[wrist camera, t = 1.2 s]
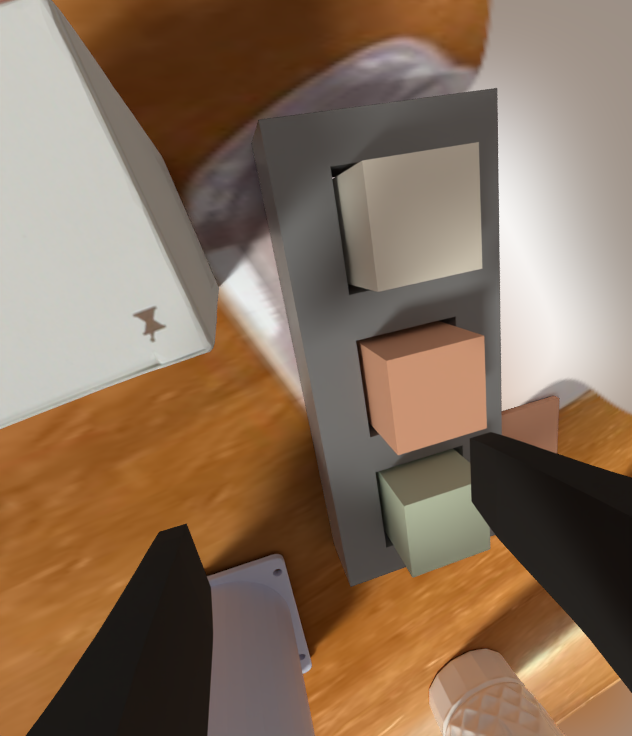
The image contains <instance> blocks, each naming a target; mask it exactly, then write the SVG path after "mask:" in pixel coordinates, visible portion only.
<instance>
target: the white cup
mask: <svg viewBox="0 0 632 736" xmlns="http://www.w3.org/2000/svg"><path fill="white" fill-rule="evenodd" d="M429 705H430V707H431V710H432V712H433V714H434V717H435V719H436V721H437V724H438V726H439V728H440V731H441V733H442V735H443V736H566V735H565V734H564V733H563V732H562V731H561V730H560V728H559V727H558V726H557V725H556V724H555V722H554V721H553V719H552V718H551V716H550V715H549V714H548V712H547V711H546V710H545V709H544V707H543V706H542V705H541V704H540V703H539V702H538V700H537V699H536V698H535V696H534V695H533V693H532V692H530V691H529V690H528V689H527V688H526V687H525V685H524V684H523V683H522V682H521V681H520V679H519V678H518V677H517V675H516V674H515V673H514V671H513V670H512V669H511V667H510V666H509V665H508V663H507V662H506V660H505V659H504V658H503V656H502V655H501V654H500V653H499V652H496V651H493V650H489V649H479V650H474V651H469V652H467V653H465V654H463V655H460V656H459V657H457V658H455V659H453V660H452V661H450V662H449V663H448V664H447V665H446V666H445V667H444V668H443V669H442V670H441V671H440V672H439V673H438V674H437V675H436V677H435V679H434V681H433V683H432V685H431V687H430V689H429Z"/></svg>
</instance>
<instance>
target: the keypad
mask: <svg viewBox="0 0 632 736" xmlns="http://www.w3.org/2000/svg"><path fill="white" fill-rule="evenodd" d="M497 116H498V113H497V88H494V89H487V90H480V91H472V92H464V93H457V94H449V95H442V96H434V97H427V98H419V99H412V100H404V101H397V102H389V103H382V104H374V105H367V106H359V107H352V108H344V109H337V110H329V111H321V112H314V113H306V114H299V115H291V116H284V117H276V118H269V119H261V120H258V124H257V127H256V130H255V133H254V137H253V140H252V143H251V144H252V149H253V154H254V158H255V163H256V168H257V173H258V178H259V183H260V188H261V192H262V197H263V202H264V207H265V212H266V217H267V221H268V226H269V231H270V236H271V241H272V246H273V251H274V255H275V260H276V265H277V270H278V275H279V280H280V285H281V289H282V294H283V299H284V304H285V309H286V314H287V318H288V323H289V328H290V333H291V338H292V343H293V348H294V352H295V357H296V362H297V367H298V372H299V377H300V381H301V386H302V391H303V396H304V401H305V406H306V411H307V415H308V420H309V425H310V430H311V435H312V440H313V444H314V449H315V454H316V459H317V464H318V469H319V474H320V478H321V483H322V488H323V493H324V498H325V503H326V508H327V512H328V517H329V522H330V527H331V532H332V537H333V541H334V546H335V548H336V551H337V553H338V556H339V558H340V561H341V563H342V566H343V569H344V571H345V574H346V576H347V579H348V581H349V584H350V586H351V587H352V586H355V585H357V584H360V583H363V582H366V581H368V580H371V579H374V578H377V577H379V576H382V575H385V574H388V573H390V572H393V571H396V570H399V569H402V568H404V567H406V565H405V564H404V562H403V560H402V559H401V557H400V555H399V554H398V552H397V550H396V549H395V547H394V545H393V543H392V542H391V540H390V538H389V537H388V535H387V533H386V532H385V530H384V528H383V521H382V514H381V507H380V501H379V494H378V487H377V480H376V473H375V472H378V471H381V470H385V469H388V468H391V467H394V466H398V465H401V464H404V463H407V462H410V461H414V460H417V459H420V458H423V457H427V456H430V455H433V454H436V453H439V452H443V451H446V450H449V449H452V448H453V449H454V450H455V451H457V452H458V453H459V454H460V455H461V456H462V457H464V458H465V459H466V460H467V461H468V462H470V438H472V437H476V436H479V435H482V434H485V433H489V432H493V433H496V434H500V435H502V413H501V342H500V341H501V339H500V267H499V265H500V263H499V194H498V193H499V190H498V121H497V120H498V117H497ZM476 142H479V167H480V202H481V237H482V269H478V270H474V271H469V272H465V273H460V274H456V275H451V276H447V277H443V278H438V279H434V280H429V281H425V282H420V283H416V284H411V285H407V286H402V287H398V288H393V289H389V290H384V291H380V292H376V291H373V290H369V289H365V288H361V287H358V286H354V285H350V284H348V283H347V276H346V270H345V263H344V256H343V249H342V242H341V236H340V229H339V222H338V215H337V208H336V202H335V195H334V188H333V181H332V177H337V176H338V175H340V174H341V173H343V172H345V171H346V170H348V169H349V168H351V167H353V166H354V165H356V164H357V163H359V162H361V161H363V160H369V159H375V158H382V157H388V156H394V155H400V154H407V153H413V152H419V151H426V150H432V149H438V148H444V147H451V146H457V145H463V144H470V143H476ZM435 321H440V322H444V323H447V324H450V325H453V326H456V327H459V328H462V329H465V330H468V331H471V332H474V333H478V334H481V335H484V344H485V379H486V414H487V428H486V429H483V430H479V431H476V432H473V433H470V434H466V435H463V436H460V437H457V438H453V439H450V440H447V441H443V442H440V443H437V444H434V445H430V446H427V447H424V448H421V449H417V450H414V451H411V452H407V453H404V454H401V455H397V454H396V453H395V452H394V450H393V449H392V448H391V447H390V446H389V445H388V444H387V442H386V441H385V440H384V439H383V438H382V437H381V435H380V434H379V433H378V432H377V431H376V430H375V429H374V427H373V426H372V425H371V424H370V423H369V422H368V419H367V412H366V406H365V399H364V392H363V385H362V378H361V372H360V365H359V358H358V351H357V344H356V341H357V340H361V339H365V338H369V337H373V336H377V335H381V334H385V333H390V332H394V331H398V330H402V329H406V328H410V327H414V326H418V325H422V324H426V323H430V322H435ZM493 535H495V534H494V532H493V531H492V530H491V528H490V536H493Z"/></svg>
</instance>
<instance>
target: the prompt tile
mask: <svg viewBox="0 0 632 736" xmlns="http://www.w3.org/2000/svg"><path fill="white" fill-rule="evenodd" d="M501 413H502V435H503V436H507V437H510V438H513V439H516V440H519V441H522V442H525V443H528V444H531V445H533V446H536V447H539V448H542V449H545V450H548V451H551V452H554V453H557V443H558V420H559V398H558V397H556V396H551V397H548V398H544V399H541V400H538V401H534V402H531V403H528V404H524V405H521V406H518V407H514V408H511V409H508V410H505V411H501Z"/></svg>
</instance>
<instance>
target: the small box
mask: <svg viewBox="0 0 632 736" xmlns="http://www.w3.org/2000/svg"><path fill="white" fill-rule="evenodd" d="M218 292H219V287H218V285H217V283H216V280H215V278H214V276H213V273H212V271H211V269H210V266H209V264H208V261H207V259H206V257H205V254H204V252H203V250H202V247H201V245H200V243H199V240H198V238H197V236H196V233H195V231H194V229H193V226H192V224H191V222H190V220H189V217H188V215H187V212H186V210H185V208H184V206H183V203H182V201H181V199H180V197H179V194H178V192H177V190H176V188H175V185H174V183H173V181H172V178H171V176H170V174H169V171H168V169H167V167H166V164H165V162H164V160H163V158H162V156H161V154H160V153H159V152H158V150H157V149H156V147H155V146H154V144H153V143H152V141H151V140H150V138H149V137H148V136H147V134H146V133H145V131H144V130H143V128H142V127H141V126H140V124H139V123H138V121H137V120H136V118H135V117H134V115H133V114H132V112H131V111H130V110H129V108H128V107H127V105H126V104H125V103H124V101H123V100H122V98H121V97H120V95H119V94H118V93H117V91H116V90H115V89H114V87H113V86H112V84H111V83H110V81H109V79H108V78H107V76H106V75H105V73H104V72H103V70H102V69H101V67H100V66H99V65H98V63H97V62H96V60H95V59H94V57H93V56H92V54H91V53H90V52H89V50H88V49H87V47H86V46H85V45H84V43H83V42H82V40H81V39H80V37H79V36H78V35H77V33H76V32H75V30H74V29H73V28H72V26H71V25H70V23H69V22H68V21H67V19H66V18H65V16H64V15H63V14H62V12H61V11H60V10H59V9H58V7H57V6H56V5H55V4H54V3H53V1H52V0H1V1H0V429H2V428H4V427H7V426H9V425H11V424H14V423H17V422H19V421H22V420H24V419H27V418H29V417H32V416H34V415H37V414H40V413H42V412H45V411H47V410H50V409H53V408H55V407H58V406H60V405H63V404H66V403H68V402H71V401H73V400H76V399H78V398H81V397H84V396H86V395H89V394H91V393H94V392H96V391H99V390H101V389H104V388H107V387H110V386H112V385H115V384H118V383H120V382H123V381H126V380H128V379H131V378H134V377H136V376H139V375H142V374H145V373H148V372H151V371H153V370H156V369H160V368H163V367H166V366H169V365H172V364H175V363H178V362H181V361H184V360H186V359H189V358H192V357H195V356H198V355H201V354H205V353H207V352H210V351H211V350H212V349H213V347H214V343H215V332H216V321H217V301H218Z"/></svg>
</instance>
